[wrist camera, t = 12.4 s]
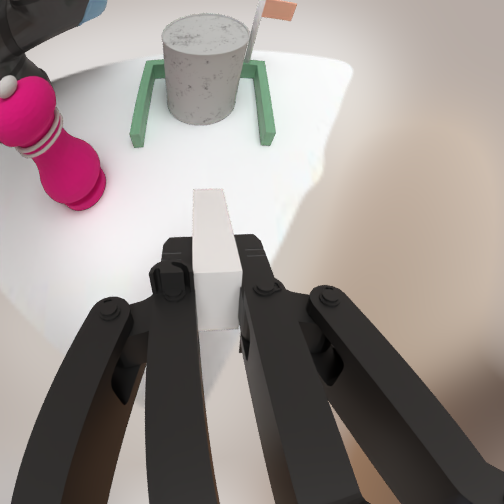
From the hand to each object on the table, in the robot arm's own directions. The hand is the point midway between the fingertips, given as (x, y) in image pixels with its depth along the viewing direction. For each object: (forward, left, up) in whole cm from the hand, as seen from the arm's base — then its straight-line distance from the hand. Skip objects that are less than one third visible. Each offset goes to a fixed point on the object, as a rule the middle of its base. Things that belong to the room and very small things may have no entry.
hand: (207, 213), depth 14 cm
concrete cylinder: (0, +23, -16) cm, 28 cm away
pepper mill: (-15, +10, -16) cm, 24 cm away
